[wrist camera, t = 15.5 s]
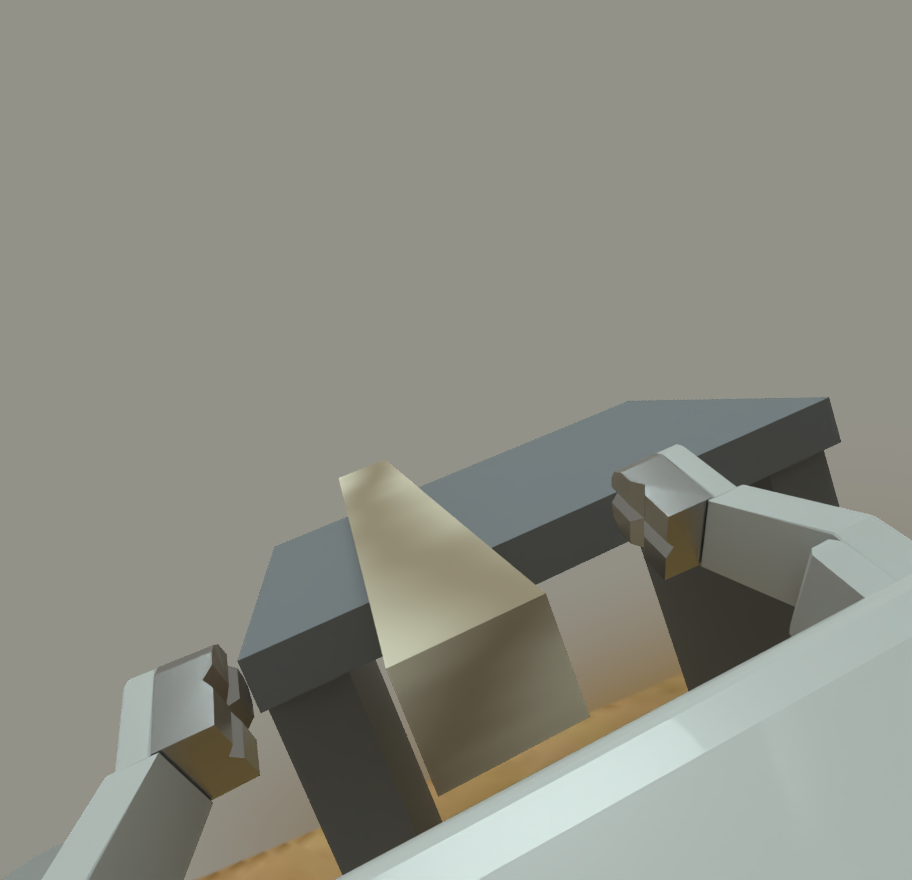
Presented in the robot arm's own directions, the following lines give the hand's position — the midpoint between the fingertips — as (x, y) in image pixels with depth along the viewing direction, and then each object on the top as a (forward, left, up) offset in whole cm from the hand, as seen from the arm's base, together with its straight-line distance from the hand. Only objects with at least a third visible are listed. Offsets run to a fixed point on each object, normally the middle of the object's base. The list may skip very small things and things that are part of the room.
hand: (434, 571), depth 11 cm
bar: (0, -11, -3) cm, 12 cm away
